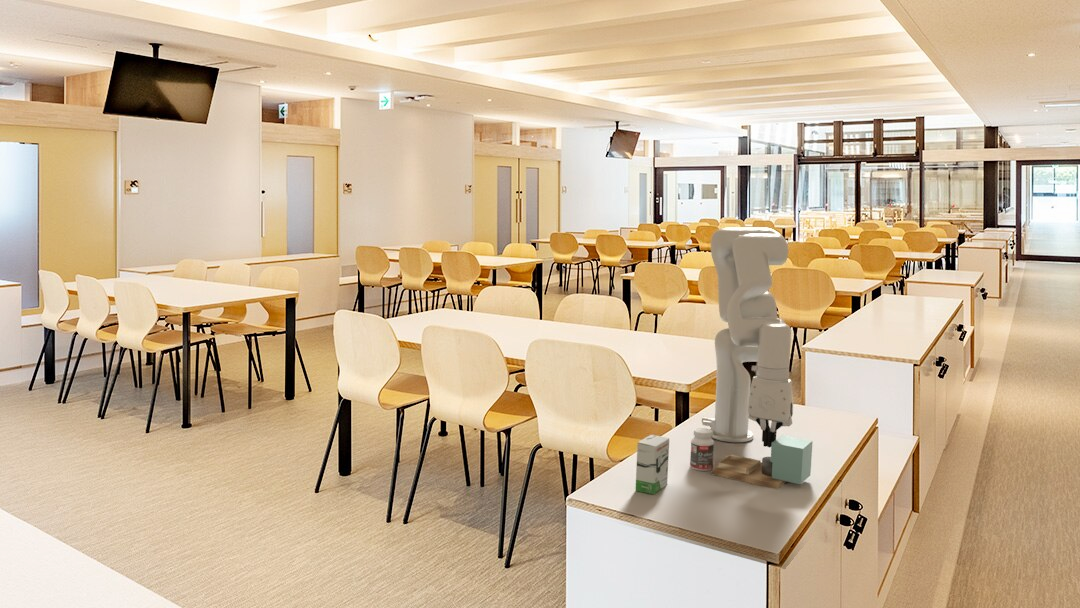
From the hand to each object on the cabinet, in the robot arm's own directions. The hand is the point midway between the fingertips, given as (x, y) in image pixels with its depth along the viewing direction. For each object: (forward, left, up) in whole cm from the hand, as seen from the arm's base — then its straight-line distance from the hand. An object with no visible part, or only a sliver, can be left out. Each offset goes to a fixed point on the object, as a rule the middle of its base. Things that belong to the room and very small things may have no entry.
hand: (768, 445), depth 206 cm
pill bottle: (-16, -3, -8) cm, 18 cm away
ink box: (-20, -23, -8) cm, 32 cm away
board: (-4, 0, -8) cm, 9 cm away
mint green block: (+6, 0, -7) cm, 9 cm away
